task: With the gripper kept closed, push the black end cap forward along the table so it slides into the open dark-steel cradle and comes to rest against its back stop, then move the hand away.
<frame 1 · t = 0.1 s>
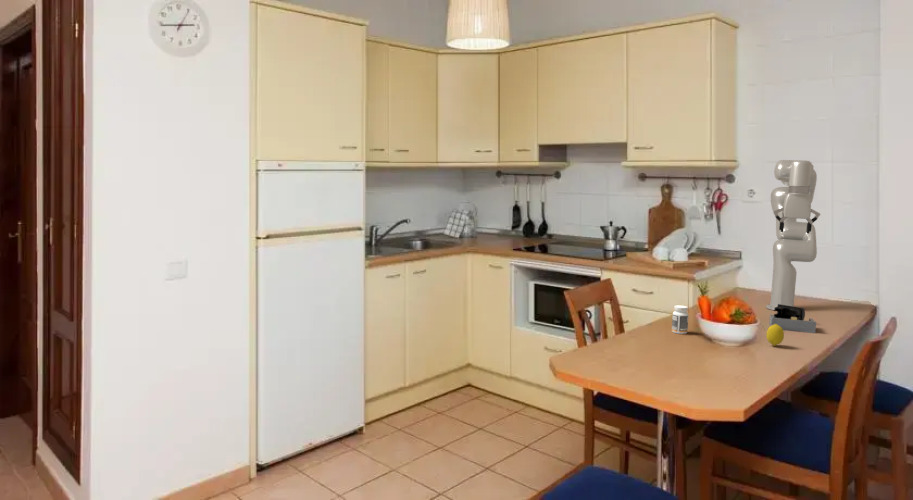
hand: (794, 232, 281), 37 cm above the table, tool pointing down, fingers open, 9 cm apart
pill bottle: (679, 333, 256), on the table
end cap: (788, 322, 280), on the table
lemon: (774, 346, 240), on the table
steel cradle: (791, 328, 269), on the table
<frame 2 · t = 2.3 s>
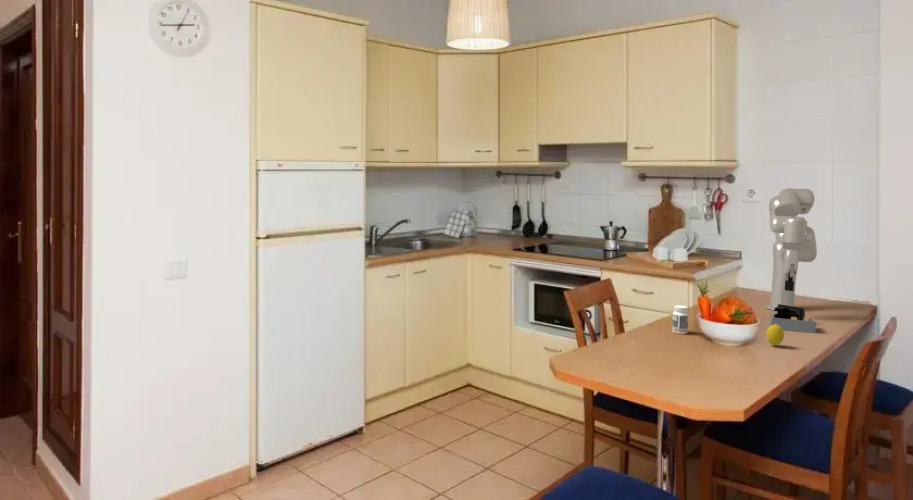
hand: (788, 290, 286), 12 cm above the table, tool pointing down, fingers closed
nothing on the table moved.
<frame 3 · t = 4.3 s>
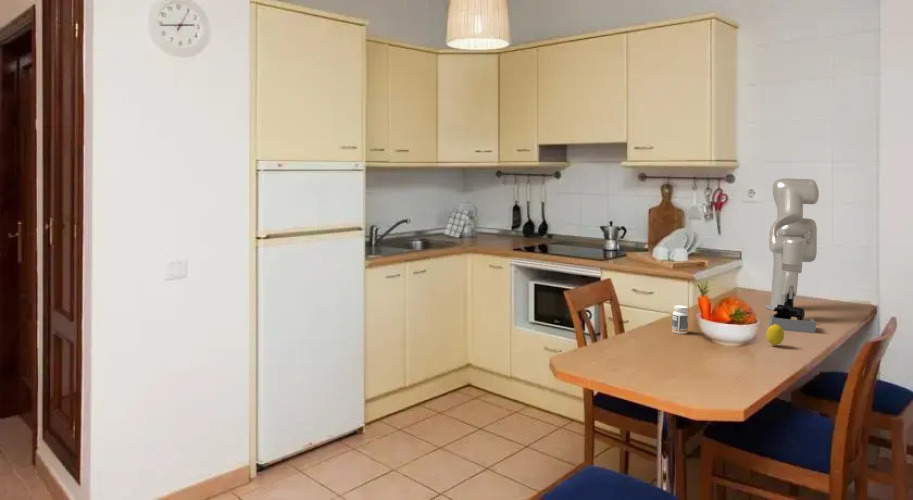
hand: (787, 311, 284), 3 cm above the table, tool pointing down, fingers closed
end cap: (787, 323, 279), on the table, touching gripper
everything else where it was.
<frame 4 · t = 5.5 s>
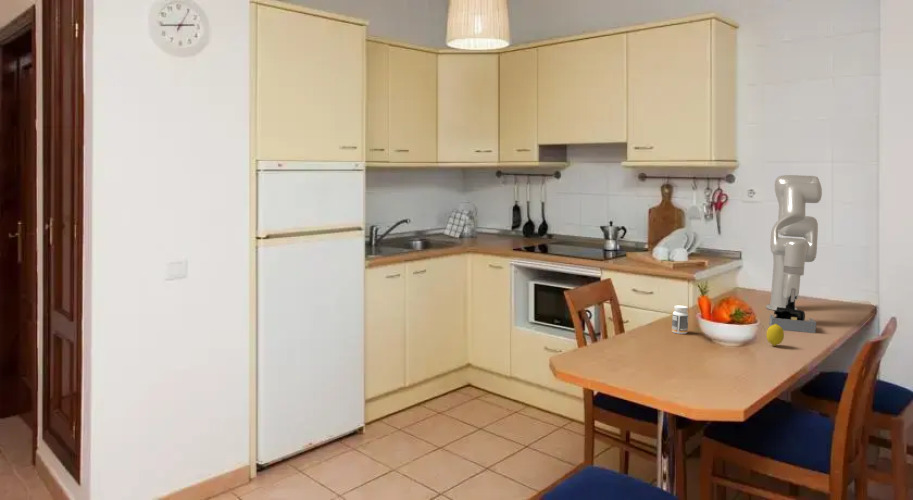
hand: (789, 315, 278), 3 cm above the table, tool pointing down, fingers closed
end cap: (788, 326, 274), on the table
everything else where it was.
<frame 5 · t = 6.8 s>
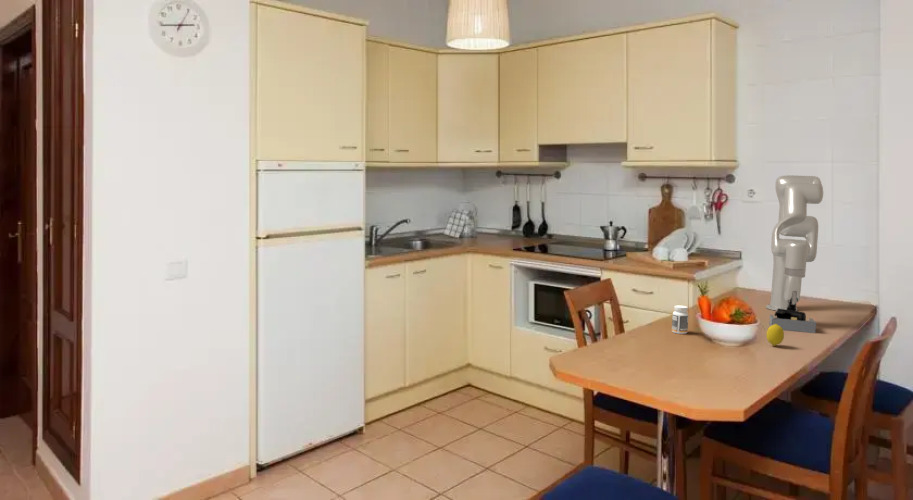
hand: (790, 317, 275), 3 cm above the table, tool pointing down, fingers closed
end cap: (788, 327, 271), on the table, touching gripper, steel cradle
everything else where it was.
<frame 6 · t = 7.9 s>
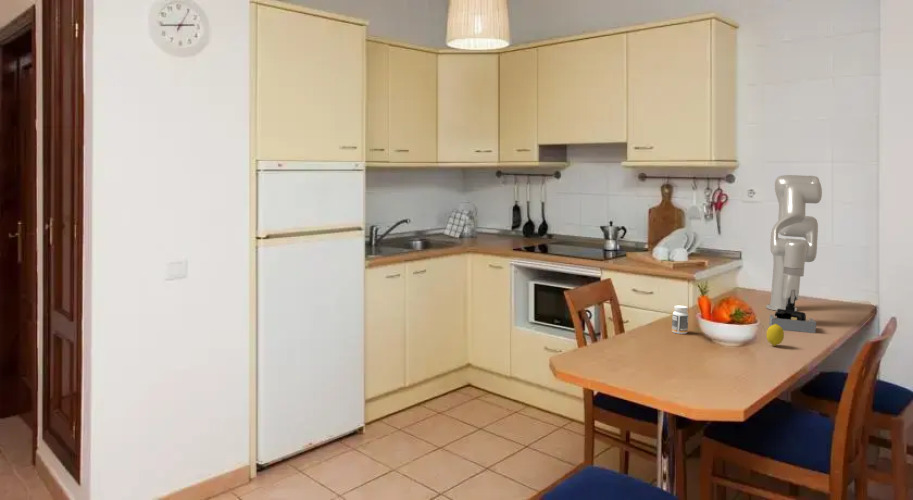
hand: (789, 315, 278), 3 cm above the table, tool pointing down, fingers closed
end cap: (788, 328, 271), on the table
everything else where it was.
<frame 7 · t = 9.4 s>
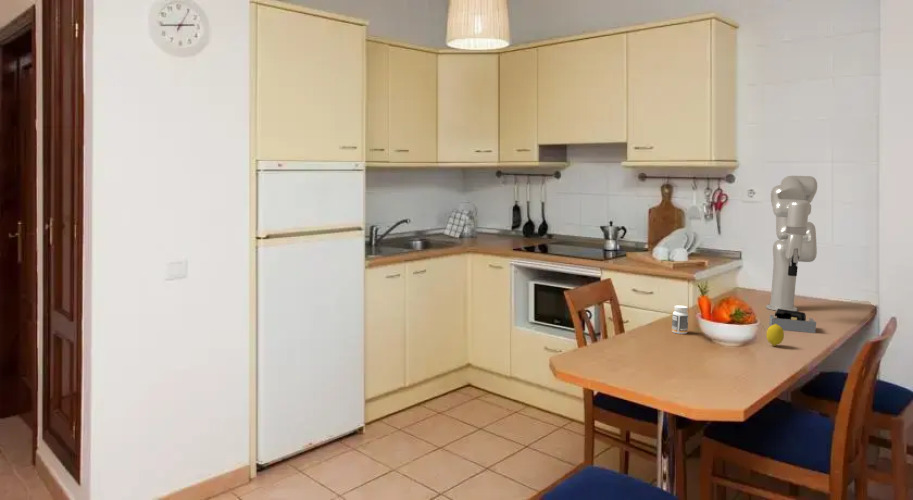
hand: (792, 275, 280), 19 cm above the table, tool pointing down, fingers closed
nothing on the table moved.
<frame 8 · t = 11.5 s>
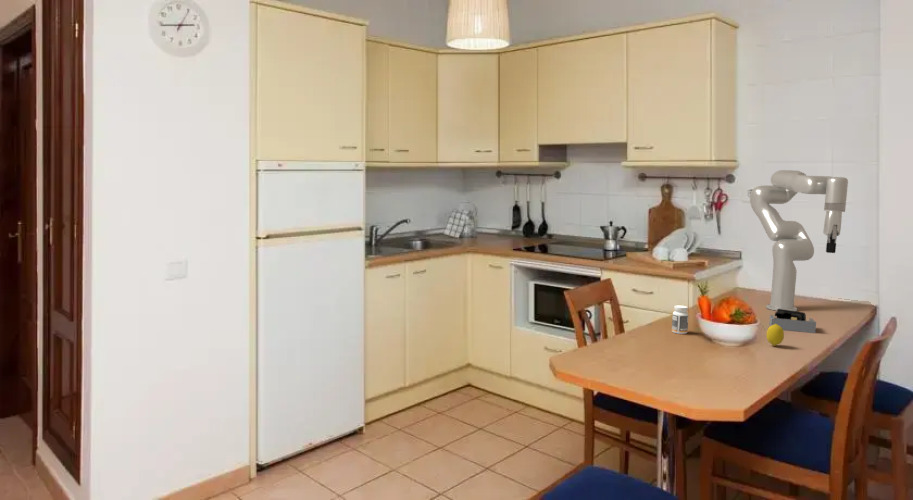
hand: (830, 252, 279), 29 cm above the table, tool pointing down, fingers closed
nothing on the table moved.
at the end: end cap 1.9 cm from the steel cradle (horizontally); end cap on the table; the gripper is holding nothing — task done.
